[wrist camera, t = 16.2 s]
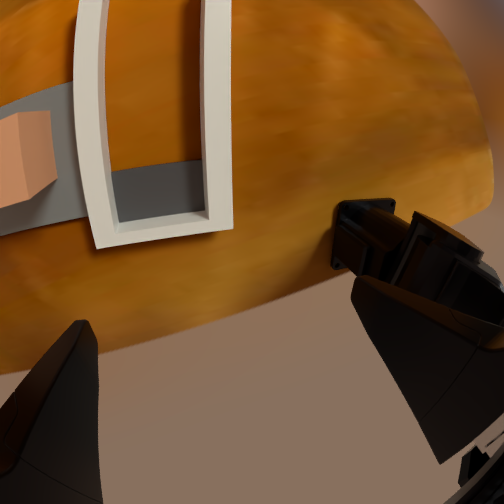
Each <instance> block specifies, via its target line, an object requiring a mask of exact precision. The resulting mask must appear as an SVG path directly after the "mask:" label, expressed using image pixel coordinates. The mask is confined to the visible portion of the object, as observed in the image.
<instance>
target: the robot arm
mask: <svg viewBox="0 0 504 504" xmlns="http://www.w3.org/2000/svg"><path fill="white" fill-rule="evenodd" d="M345 205H346V208H345V209H344V206H345ZM395 205H396V202H395V200H394V199H392V198H377V199H360V200H344V201H342V202H341V203H340V204H339V209H338V217H337V224H336V229H335V236H334V243H333V249H332V258H331V264H330V266H331V267H332V268H333V269H334V270H339V269H343V268H348V269H349V270H351V271H352V272H353V273H354V274H355V275H356V276H357V277H356V278H355V280H354V284H353V288H352V292H351V302H352V304H353V306H354V308H355V310H356V312H357V314H358V316H359V318H360V320H361V322H362V324H363V326H364V328H365V330H366V332H367V334H368V336H369V338H370V339H371V341H372V342H373V344H374V346H375V347H376V349H377V351H378V353H379V354H380V356H381V357H382V359H383V361H384V363H385V364H386V366H387V368H388V369H389V371H390V373H391V375H392V376H393V378H394V380H395V381H396V383H397V385H398V387H399V389H400V390H401V392H402V394H403V396H404V397H405V399H406V401H407V403H408V405H409V407H410V408H411V410H412V412H413V414H414V416H415V418H416V419H417V421H418V422H419V425H420V427H421V429H422V431H423V433H424V435H425V437H426V439H427V441H428V443H429V445H430V447H431V449H432V451H433V453H434V455H435V457H436V459H437V461H438V463H439V464H440V465H441V464H442V463H444V462H445V461H446V460H448V459H449V458H451V457H452V456H453V455H455V454H456V453H458V452H459V451H460V450H461V449H463V448H464V447H465V446H467V445H468V444H469V443H470V442H472V441H474V443H475V445H474V446H473V447H472V448H471V449H470V450H469V451H468V452H467V453H466V454H465V455H464V456H463V457H462V463H461V468H460V474H459V480H458V484H459V485H460V487H461V489H460V490H458V491H457V493H455V494H454V495H453V496H452V497H451V498H450V499H448V500H447V501H446V502H445V503H444V504H504V287H503V285H502V283H501V281H500V279H499V277H498V275H497V273H496V271H495V270H494V269H493V268H492V267H490V266H489V265H487V264H486V263H484V262H483V261H482V260H481V258H482V256H483V254H484V252H483V251H482V250H481V249H480V248H479V247H477V246H476V245H475V244H474V243H472V242H471V241H470V240H469V239H467V238H466V237H465V236H463V235H462V234H460V233H459V232H457V231H455V230H454V229H452V228H450V227H449V226H447V225H445V224H443V223H441V222H439V221H437V220H435V219H433V218H430V217H428V216H426V215H424V214H421V213H419V212H417V211H414V213H413V216H412V218H413V219H412V221H411V224H409V223H407V222H405V221H404V220H402V219H400V218H399V217H397V216H395V215H394V210H395ZM336 263H337V264H336ZM335 264H336V265H335ZM98 393H99V378H98V343H97V339H96V337H95V334H94V332H93V330H92V328H91V326H90V324H89V322H88V321H87V320H76V321H74V322H73V323H72V325H71V326H70V327H69V328H68V329H67V330H66V331H65V332H64V333H63V334H62V335H61V336H60V337H59V339H58V340H57V341H56V342H55V343H54V344H53V345H52V346H51V347H50V349H49V350H48V351H47V352H46V353H45V354H44V355H43V357H42V358H41V359H40V360H39V361H38V362H37V364H36V365H35V366H34V367H33V368H32V370H31V371H30V372H29V373H28V374H27V376H26V377H25V378H24V379H23V380H22V382H21V383H20V384H19V385H18V387H17V388H16V389H15V392H13V393H12V394H11V396H10V397H9V398H8V399H7V401H6V402H5V403H4V404H3V406H2V407H1V408H0V504H103V498H102V490H101V481H100V469H99V453H98V396H99V394H98Z"/></svg>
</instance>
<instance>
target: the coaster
mask: <svg viewBox="0 0 504 504" xmlns="http://www.w3.org/2000/svg"><path fill="white" fill-rule="evenodd" d="M31 111H50V117H51V130H52V140H53V149H54V157H55V164H56V170H57V176H58V178H57V179H56V180H54V181H53V182H51V183H50V184H49V185H47V186H46V187H45V188H43V189H42V190H41V191H39V192H38V193H37V194H36V195H34V196H33V197H32V198H31V199H29V200H26V201H22V202H19V203H15V204H12V205H9V206H5V207H2V208H0V236H2V235H6V234H10V233H14V232H18V231H22V230H26V229H30V228H34V227H39V226H43V225H48V224H52V223H57V222H61V221H66V220H71V219H76V218H81V217H86V216H89V215H88V211H87V206H86V201H85V196H84V190H83V185H82V179H81V172H80V165H79V158H78V150H77V141H76V130H75V117H74V94H73V81H71V82H67V83H64V84H61V85H57V86H54V87H51V88H48V89H45V90H42V91H40V92H37V93H34V94H31V95H29V96H26V97H24V98H21V99H19V100H16V101H14V102H12V103H9V104H7V105H5V106H3V107H1V108H0V120H1V119H3V118H6V117H8V116H10V115H13V114H15V113H18V112H31Z"/></svg>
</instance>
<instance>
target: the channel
mask: <svg viewBox="0 0 504 504" xmlns="http://www.w3.org/2000/svg"><path fill="white" fill-rule="evenodd" d="M108 7H109V0H80V1H79V7H78V14H77V23H76V32H75V45H74V67H73V94H74V117H75V130H76V141H77V150H78V158H79V165H80V172H81V179H82V185H83V190H84V196H85V201H86V206H87V211H88V215H89V220H90V224H91V229H92V233H93V237H94V241H95V245H96V248H97V249H100V248H106V247H112V246H118V245H124V244H131V243H137V242H143V241H150V240H157V239H163V238H170V237H177V236H184V235H191V234H198V233H205V232H213V231H220V230H228V229H233V204H232V159H231V0H201V16H200V122H201V151H202V160H192V161H183V162H174V163H166V164H158V165H151V166H144V167H138V168H132V169H126V170H120V171H114V172H111V166H110V157H109V148H108V137H107V125H106V108H105V44H106V28H107V17H108Z"/></svg>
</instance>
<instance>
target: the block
mask: <svg viewBox="0 0 504 504" xmlns="http://www.w3.org/2000/svg"><path fill="white" fill-rule="evenodd" d="M57 178H58V176H57V170H56V164H55V157H54V149H53V140H52V130H51V117H50V111H31V112H18V113H15V114H13V115H10V116H8V117H6V118H3V119H1V120H0V208H2V207H5V206H9V205H12V204H15V203H19V202H22V201H26V200H29V199H31V198H32V197H33V196H34V195H36V194H37V193H38V192H39V191H41V190H42V189H43V188H45V187H46V186H47V185H49V184H50V183H51V182H53V181H54V180H56V179H57Z"/></svg>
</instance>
